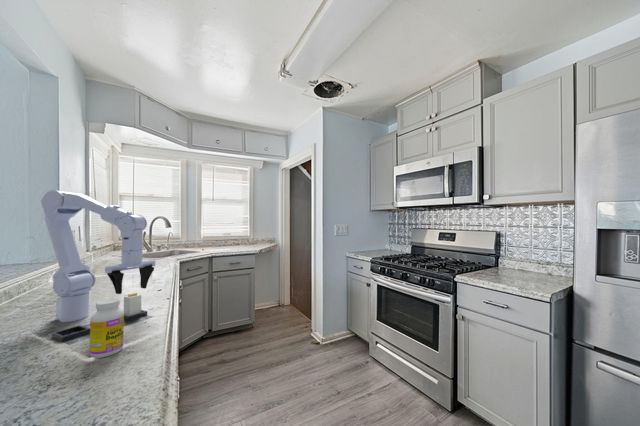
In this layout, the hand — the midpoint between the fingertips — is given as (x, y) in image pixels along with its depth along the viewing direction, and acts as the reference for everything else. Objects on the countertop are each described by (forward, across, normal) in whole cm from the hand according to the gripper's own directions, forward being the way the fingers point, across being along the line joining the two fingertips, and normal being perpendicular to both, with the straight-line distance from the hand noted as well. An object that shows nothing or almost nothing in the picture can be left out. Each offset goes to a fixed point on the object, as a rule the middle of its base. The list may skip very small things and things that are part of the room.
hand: (131, 290), depth 87 cm
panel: (+10, -7, +1) cm, 12 cm away
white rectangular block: (+9, +1, +1) cm, 9 cm away
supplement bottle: (+10, -15, -18) cm, 26 cm away
